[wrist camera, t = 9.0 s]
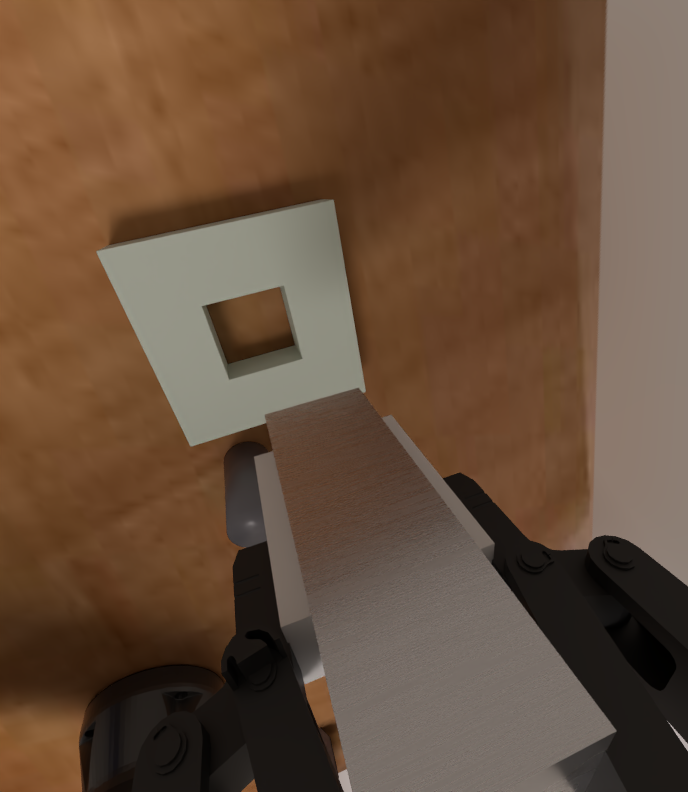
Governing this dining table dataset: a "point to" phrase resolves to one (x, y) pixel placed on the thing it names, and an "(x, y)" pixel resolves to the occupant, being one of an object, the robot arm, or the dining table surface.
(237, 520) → the round peg
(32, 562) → the dining table surface
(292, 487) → the square peg
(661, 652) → the robot arm
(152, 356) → the socket board
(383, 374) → the dining table surface
